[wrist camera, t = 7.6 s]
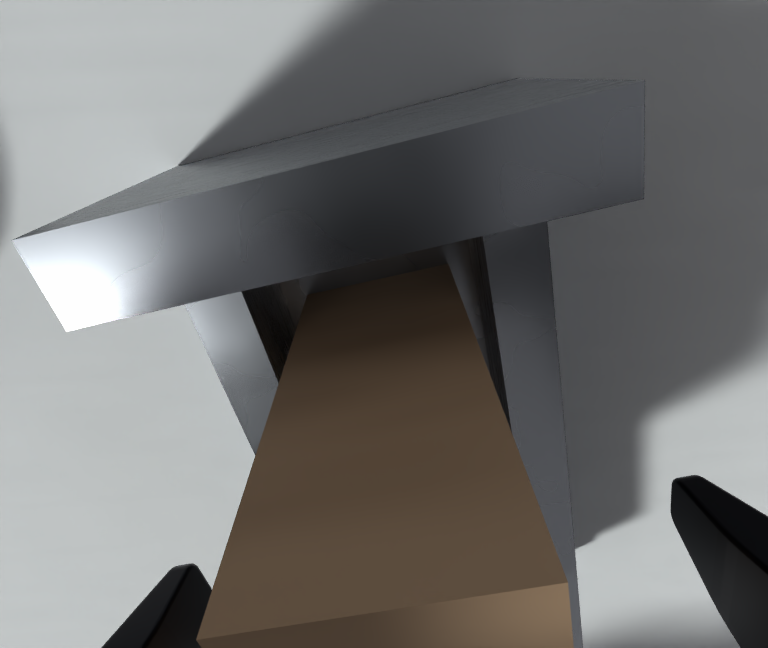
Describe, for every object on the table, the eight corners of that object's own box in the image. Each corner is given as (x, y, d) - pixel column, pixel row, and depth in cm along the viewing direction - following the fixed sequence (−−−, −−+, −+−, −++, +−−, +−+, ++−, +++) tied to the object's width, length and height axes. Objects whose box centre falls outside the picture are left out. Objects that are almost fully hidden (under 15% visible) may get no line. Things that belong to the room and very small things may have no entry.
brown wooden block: (496, 528, 13) (597, 918, 7) (390, 546, 14) (401, 936, 8) (448, 263, 10) (569, 583, 4) (307, 294, 10) (195, 639, 4)
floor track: (564, 555, 16) (639, 748, 11) (352, 590, 16) (343, 785, 12) (516, 78, 9) (644, 80, 5) (175, 166, 10) (11, 240, 5)
